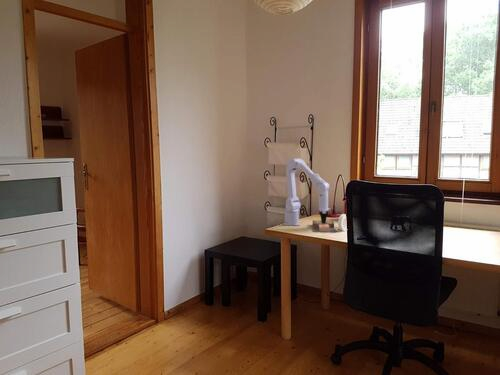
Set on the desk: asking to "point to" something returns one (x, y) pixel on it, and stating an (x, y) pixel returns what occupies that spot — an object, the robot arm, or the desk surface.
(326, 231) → the mat
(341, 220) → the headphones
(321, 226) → the tile
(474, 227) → the desk surface
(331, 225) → the deck
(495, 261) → the desk surface
